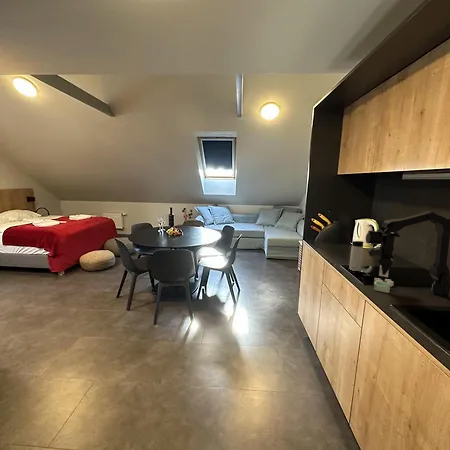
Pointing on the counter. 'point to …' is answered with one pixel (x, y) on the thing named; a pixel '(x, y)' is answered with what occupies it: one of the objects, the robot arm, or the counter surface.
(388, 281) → the clip
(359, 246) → the travel mug
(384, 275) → the connector block
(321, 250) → the counter surface
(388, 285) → the end holder
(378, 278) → the clip
